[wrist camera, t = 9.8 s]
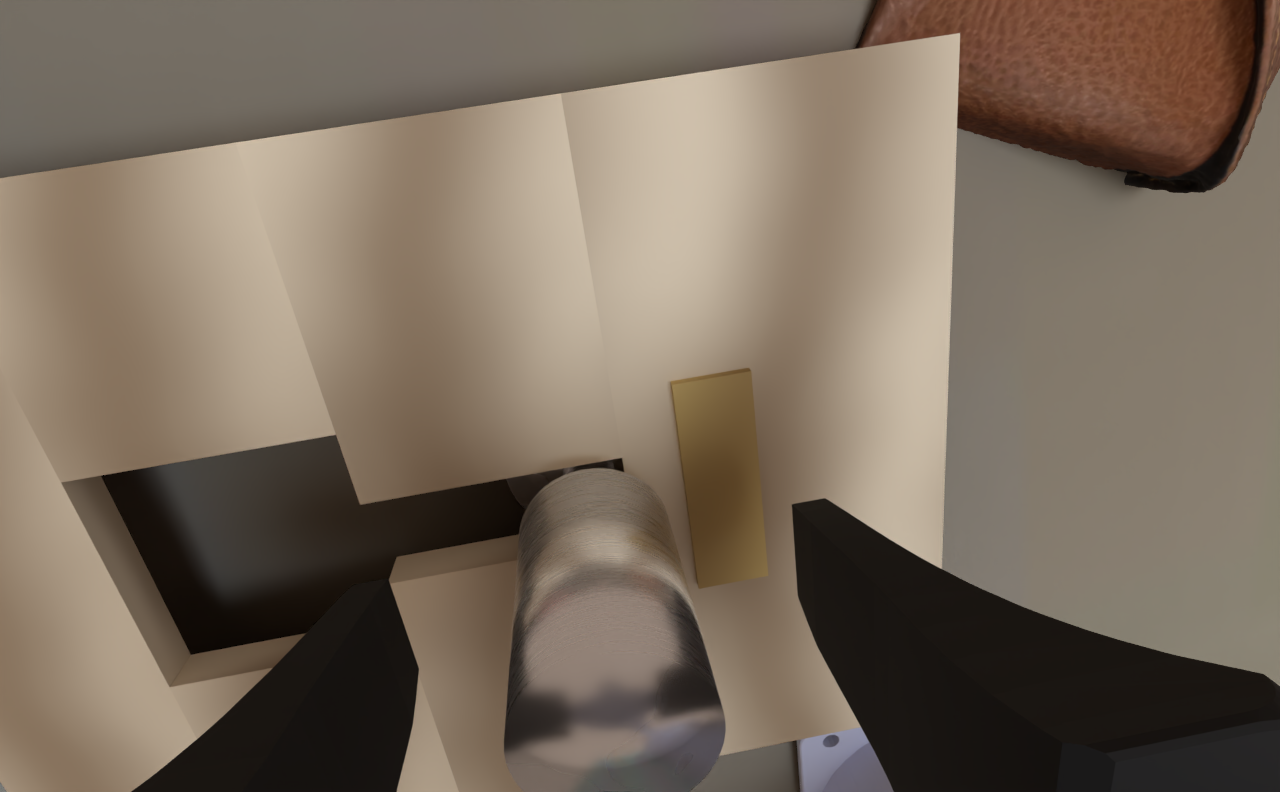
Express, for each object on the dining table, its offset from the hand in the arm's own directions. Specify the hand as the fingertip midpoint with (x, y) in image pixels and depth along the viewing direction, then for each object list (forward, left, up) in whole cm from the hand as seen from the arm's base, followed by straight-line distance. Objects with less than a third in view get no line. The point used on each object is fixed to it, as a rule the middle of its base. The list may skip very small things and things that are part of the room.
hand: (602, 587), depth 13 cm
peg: (0, 0, -6) cm, 6 cm away
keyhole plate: (+3, 0, -6) cm, 7 cm away
